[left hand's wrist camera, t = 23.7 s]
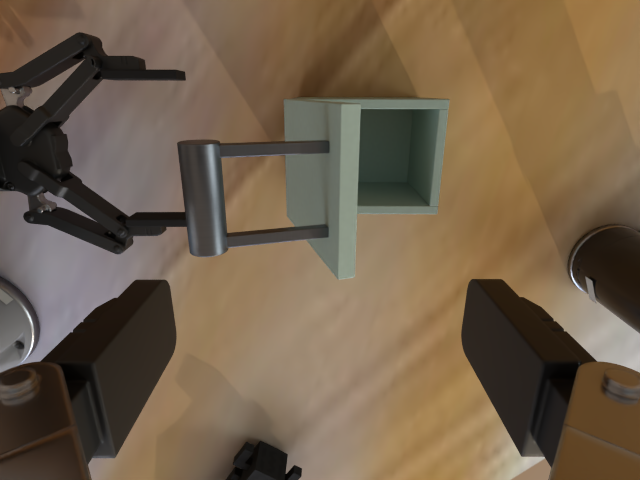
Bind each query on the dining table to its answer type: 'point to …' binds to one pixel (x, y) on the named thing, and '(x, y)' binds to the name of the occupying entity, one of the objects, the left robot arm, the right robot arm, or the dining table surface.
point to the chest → (399, 153)
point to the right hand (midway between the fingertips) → (189, 151)
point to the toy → (262, 464)
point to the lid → (301, 184)
